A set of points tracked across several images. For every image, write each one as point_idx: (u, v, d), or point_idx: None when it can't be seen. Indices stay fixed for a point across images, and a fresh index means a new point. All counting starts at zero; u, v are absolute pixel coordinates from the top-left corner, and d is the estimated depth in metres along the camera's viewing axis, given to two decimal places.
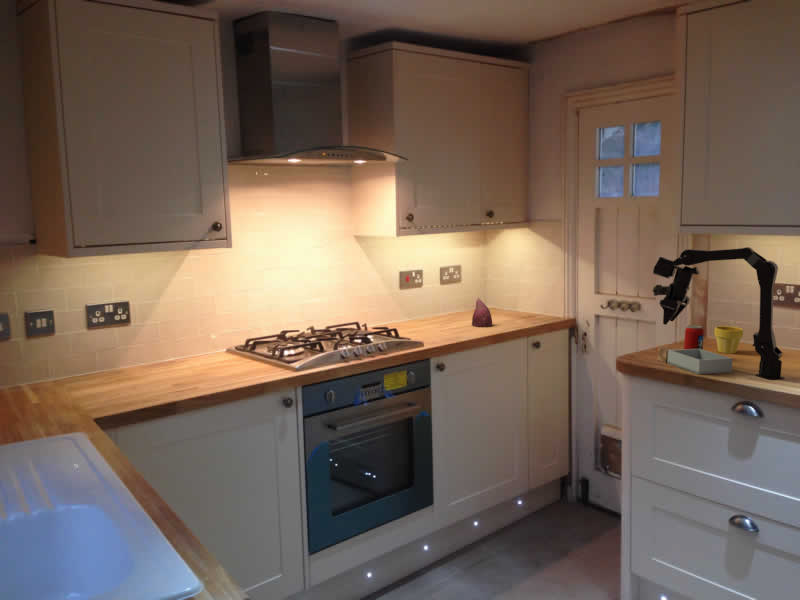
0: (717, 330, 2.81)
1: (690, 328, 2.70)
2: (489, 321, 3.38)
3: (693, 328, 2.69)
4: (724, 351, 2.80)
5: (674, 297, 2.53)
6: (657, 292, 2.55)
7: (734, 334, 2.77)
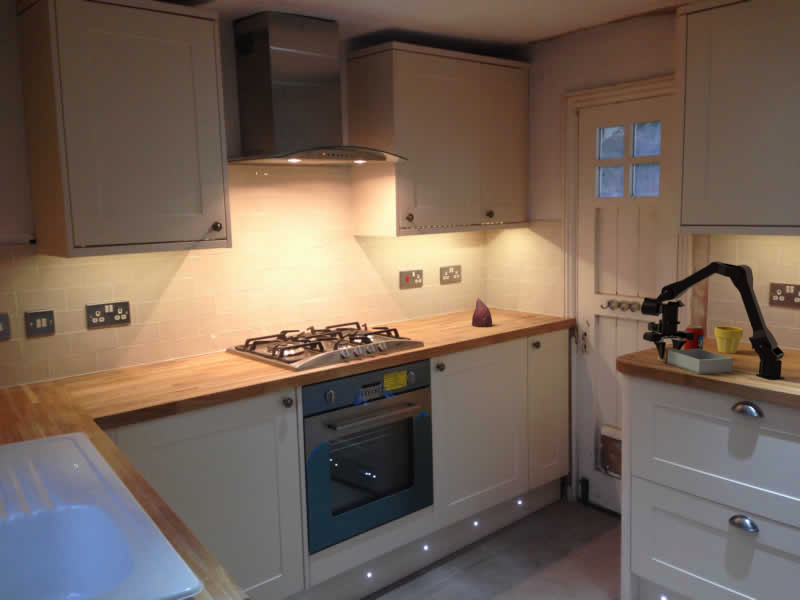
0: (717, 330, 2.81)
1: (690, 328, 2.70)
2: (489, 321, 3.38)
3: (693, 328, 2.69)
4: (724, 351, 2.80)
5: (662, 332, 2.62)
6: (649, 329, 2.68)
7: (734, 334, 2.77)
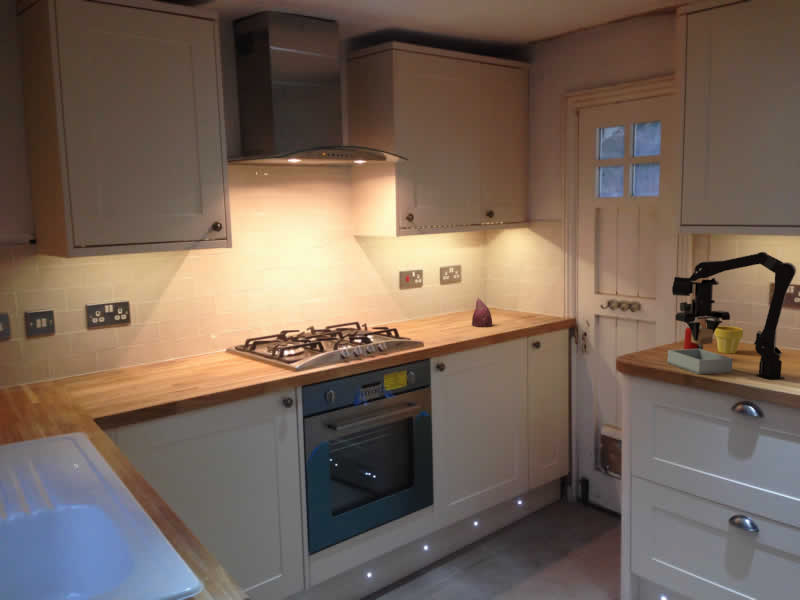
0: (717, 330, 2.81)
1: None
2: (489, 321, 3.38)
3: None
4: (724, 351, 2.80)
5: (696, 312, 2.49)
6: (682, 310, 2.55)
7: (734, 334, 2.77)
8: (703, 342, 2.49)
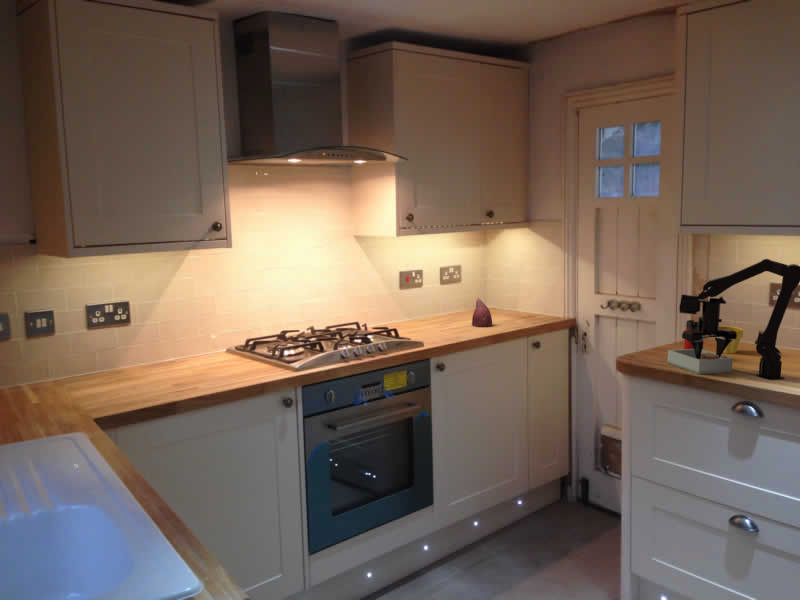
0: None
1: None
2: (489, 321, 3.38)
3: None
4: (724, 351, 2.80)
5: (702, 330, 2.47)
6: (688, 328, 2.53)
7: None
8: None
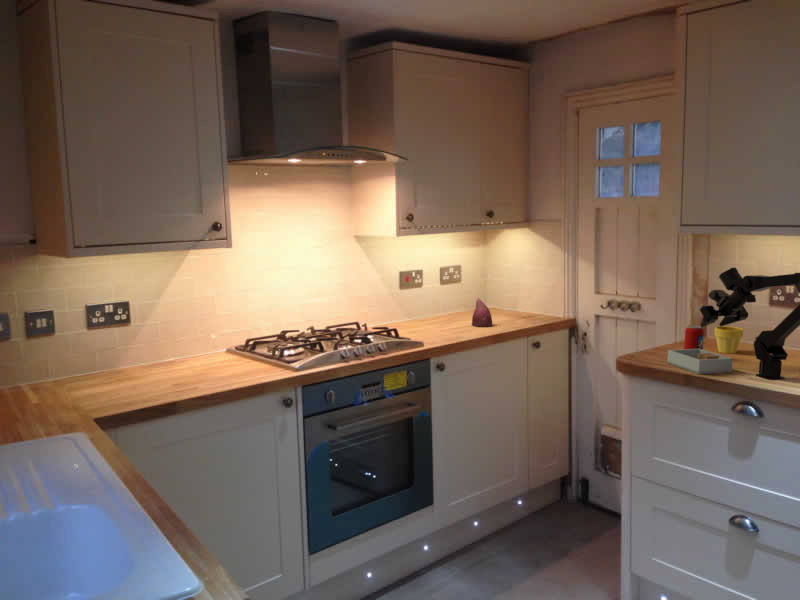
0: (717, 330, 2.81)
1: (690, 328, 2.70)
2: (489, 321, 3.38)
3: (693, 328, 2.69)
4: (724, 351, 2.80)
5: (721, 309, 2.55)
6: (710, 297, 2.58)
7: (734, 334, 2.77)
8: None
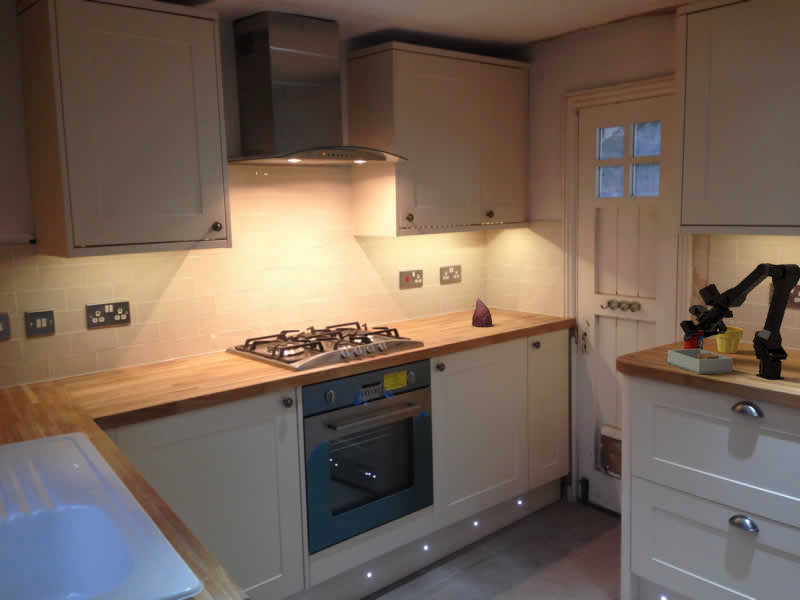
0: None
1: None
2: (489, 321, 3.38)
3: None
4: (724, 351, 2.80)
5: (700, 324, 2.65)
6: (690, 312, 2.68)
7: (734, 334, 2.77)
8: None
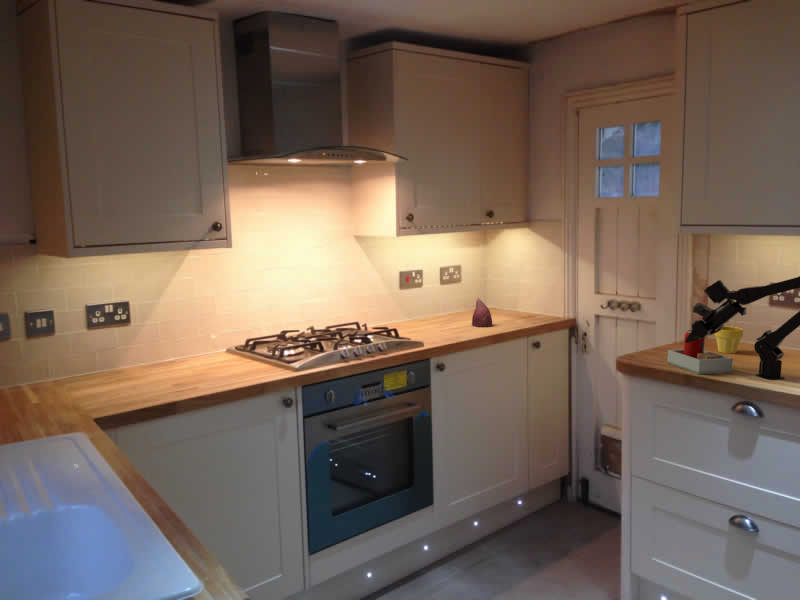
0: None
1: None
2: (489, 321, 3.38)
3: None
4: (724, 351, 2.80)
5: (709, 323, 2.49)
6: (696, 311, 2.51)
7: (734, 334, 2.77)
8: None
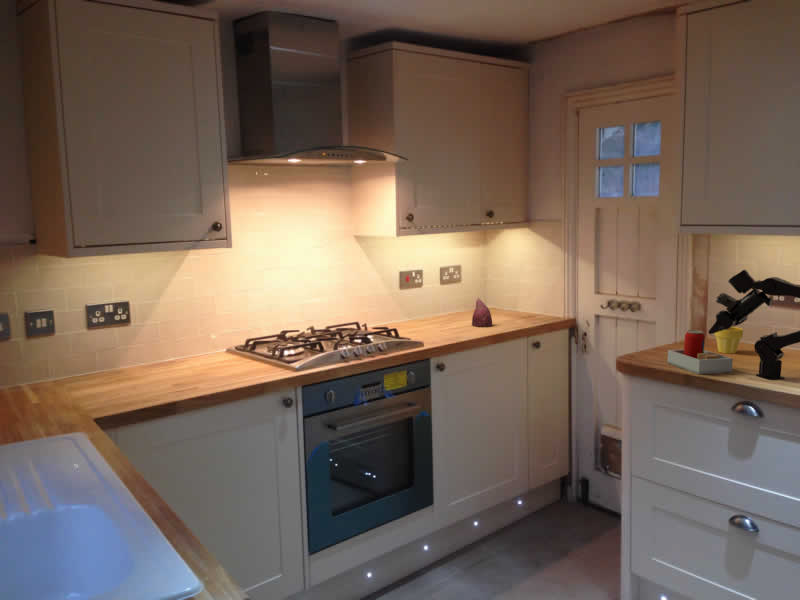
0: None
1: (694, 334, 2.53)
2: (489, 321, 3.38)
3: (697, 333, 2.53)
4: (724, 351, 2.80)
5: (733, 314, 2.44)
6: (720, 301, 2.45)
7: (734, 334, 2.77)
8: None
